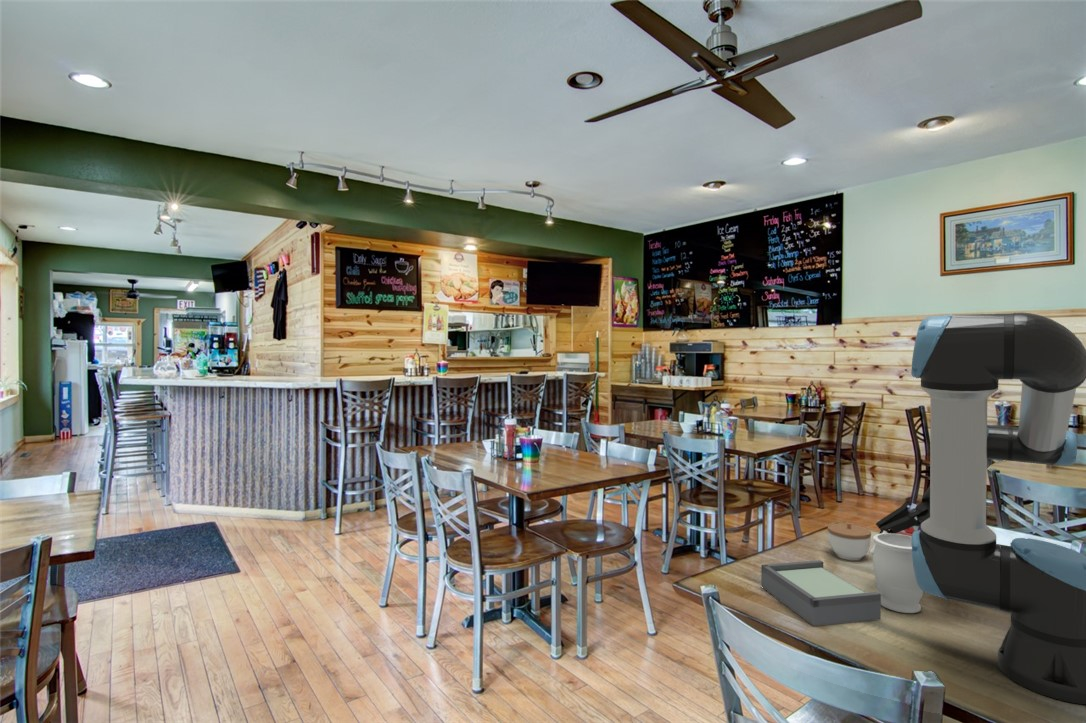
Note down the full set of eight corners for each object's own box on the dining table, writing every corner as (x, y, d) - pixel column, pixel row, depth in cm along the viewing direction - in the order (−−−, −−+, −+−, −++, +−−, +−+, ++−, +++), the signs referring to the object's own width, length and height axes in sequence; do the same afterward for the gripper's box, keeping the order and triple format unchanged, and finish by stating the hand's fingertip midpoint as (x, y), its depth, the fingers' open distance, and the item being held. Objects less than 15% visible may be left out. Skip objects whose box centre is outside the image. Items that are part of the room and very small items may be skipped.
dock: (880, 619, 123) (880, 594, 123) (813, 626, 120) (813, 600, 120) (820, 581, 143) (820, 560, 143) (761, 587, 140) (761, 564, 140)
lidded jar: (821, 556, 160) (821, 523, 160) (836, 547, 168) (836, 515, 167) (862, 567, 152) (863, 532, 152) (876, 556, 160) (876, 523, 159)
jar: (935, 618, 123) (936, 549, 123) (882, 614, 126) (883, 546, 125) (914, 597, 134) (914, 533, 133) (865, 593, 136) (866, 531, 136)
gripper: (1013, 518, 124) (964, 598, 120) (905, 491, 148) (861, 557, 143) (996, 497, 122) (946, 576, 118) (890, 473, 146) (845, 538, 141)
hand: (900, 566), depth 130 cm, fingers open, 13 cm apart
